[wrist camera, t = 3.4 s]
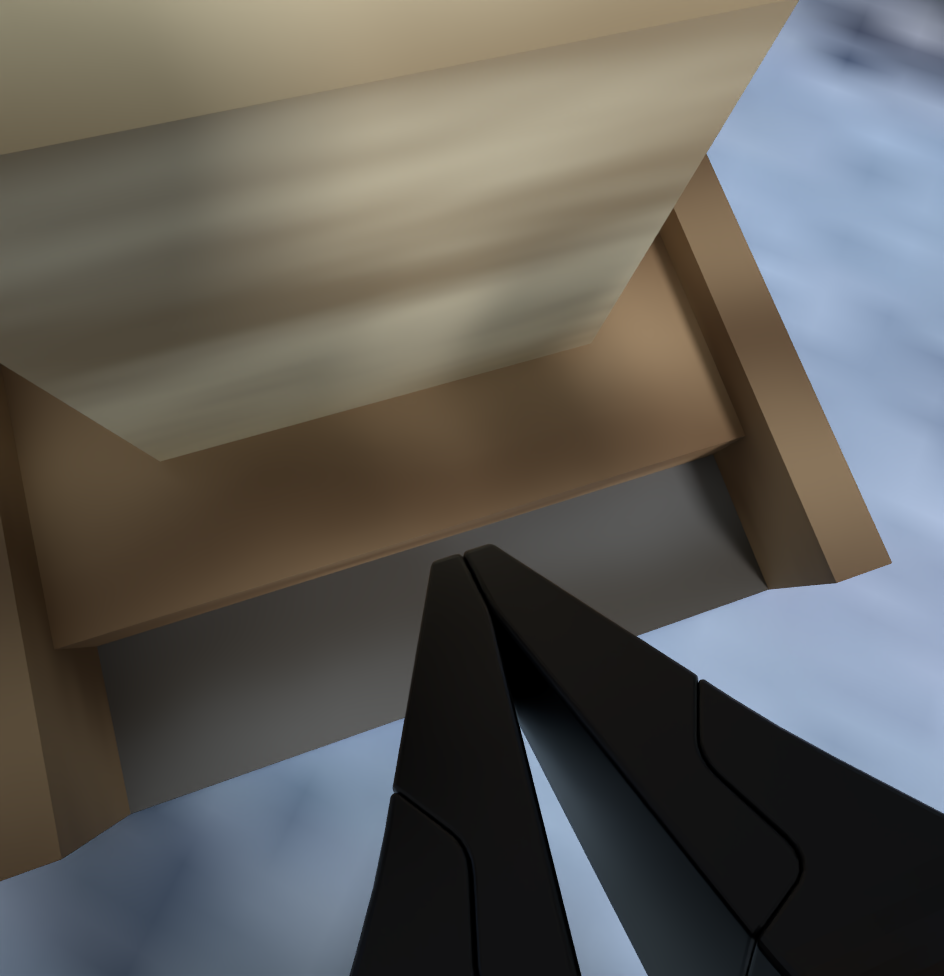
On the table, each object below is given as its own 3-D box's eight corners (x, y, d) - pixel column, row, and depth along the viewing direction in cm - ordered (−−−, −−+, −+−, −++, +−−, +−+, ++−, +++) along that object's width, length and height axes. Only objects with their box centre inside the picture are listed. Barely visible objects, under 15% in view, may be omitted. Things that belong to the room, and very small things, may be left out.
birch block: (591, 343, 16) (800, -4, 7) (160, 461, 14) (-257, 205, 6) (462, 9, 18) (500, -583, 9) (71, 81, 16) (-338, -551, 8)
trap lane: (811, 573, 17) (926, 558, 13) (68, 834, 14) (-65, 914, 10) (427, -326, 24) (428, -513, 20) (-132, -270, 21) (-259, -475, 17)
